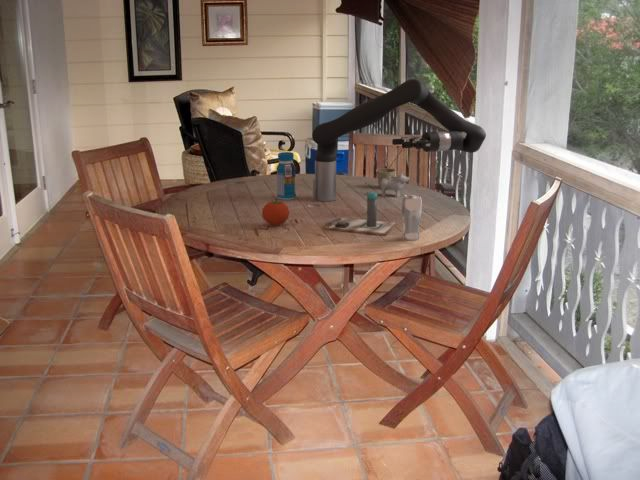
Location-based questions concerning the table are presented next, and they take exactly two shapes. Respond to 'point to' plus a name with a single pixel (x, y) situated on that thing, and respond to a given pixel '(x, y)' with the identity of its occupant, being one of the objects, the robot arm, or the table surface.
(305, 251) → the table surface
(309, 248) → the table surface
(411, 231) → the beer glass
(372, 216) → the marker
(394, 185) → the dog figurine
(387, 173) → the flower pot
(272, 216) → the tomato
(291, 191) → the beverage bottle
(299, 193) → the table surface
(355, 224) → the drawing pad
